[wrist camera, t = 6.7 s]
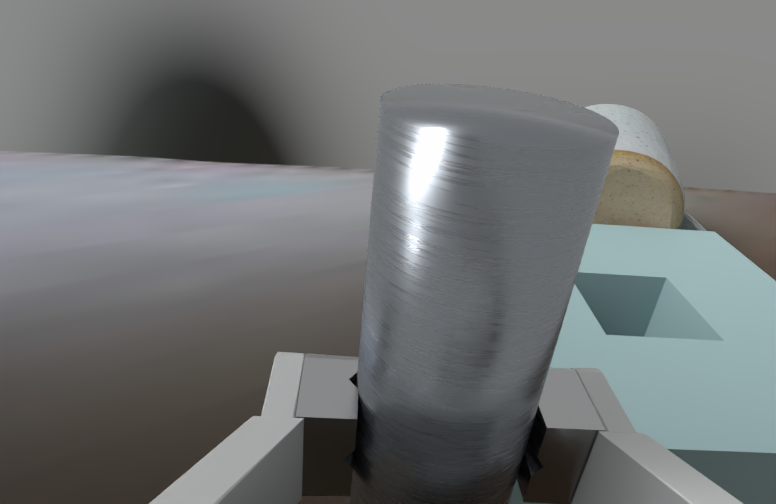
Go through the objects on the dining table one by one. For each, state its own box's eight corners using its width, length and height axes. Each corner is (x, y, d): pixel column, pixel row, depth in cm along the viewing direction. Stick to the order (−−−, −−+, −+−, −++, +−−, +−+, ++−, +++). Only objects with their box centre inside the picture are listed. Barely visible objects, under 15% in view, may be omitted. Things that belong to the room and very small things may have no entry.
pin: (332, 705, 11) (382, 135, 6) (339, 562, 14) (378, 77, 8) (475, 705, 12) (664, 158, 6) (456, 565, 14) (572, 93, 8)
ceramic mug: (523, 266, 30) (559, 127, 26) (525, 209, 37) (554, 93, 33) (731, 308, 28) (800, 167, 25) (691, 240, 35) (741, 122, 32)
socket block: (471, 529, 16) (492, 442, 14) (426, 275, 28) (435, 213, 26) (926, 541, 17) (997, 461, 15) (690, 291, 29) (714, 231, 27)
